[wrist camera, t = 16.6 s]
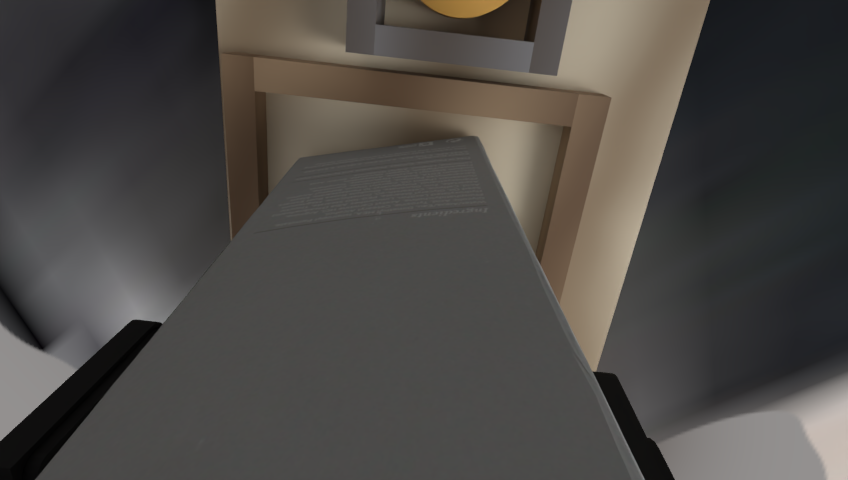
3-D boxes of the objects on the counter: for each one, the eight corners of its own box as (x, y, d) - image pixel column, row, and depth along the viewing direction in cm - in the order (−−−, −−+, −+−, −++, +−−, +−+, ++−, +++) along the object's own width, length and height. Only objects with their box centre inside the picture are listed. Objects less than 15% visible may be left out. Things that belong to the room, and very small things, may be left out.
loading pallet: (725, -128, 14) (804, -173, 11) (573, 395, 22) (593, 456, 19) (225, -185, 14) (162, -246, 11) (252, 359, 22) (219, 414, 19)
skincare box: (300, 152, 17) (-605, 906, 2) (506, 128, 16) (999, 964, 2) (345, 351, 20) (84, 1174, 6) (517, 338, 20) (719, 1225, 5)
